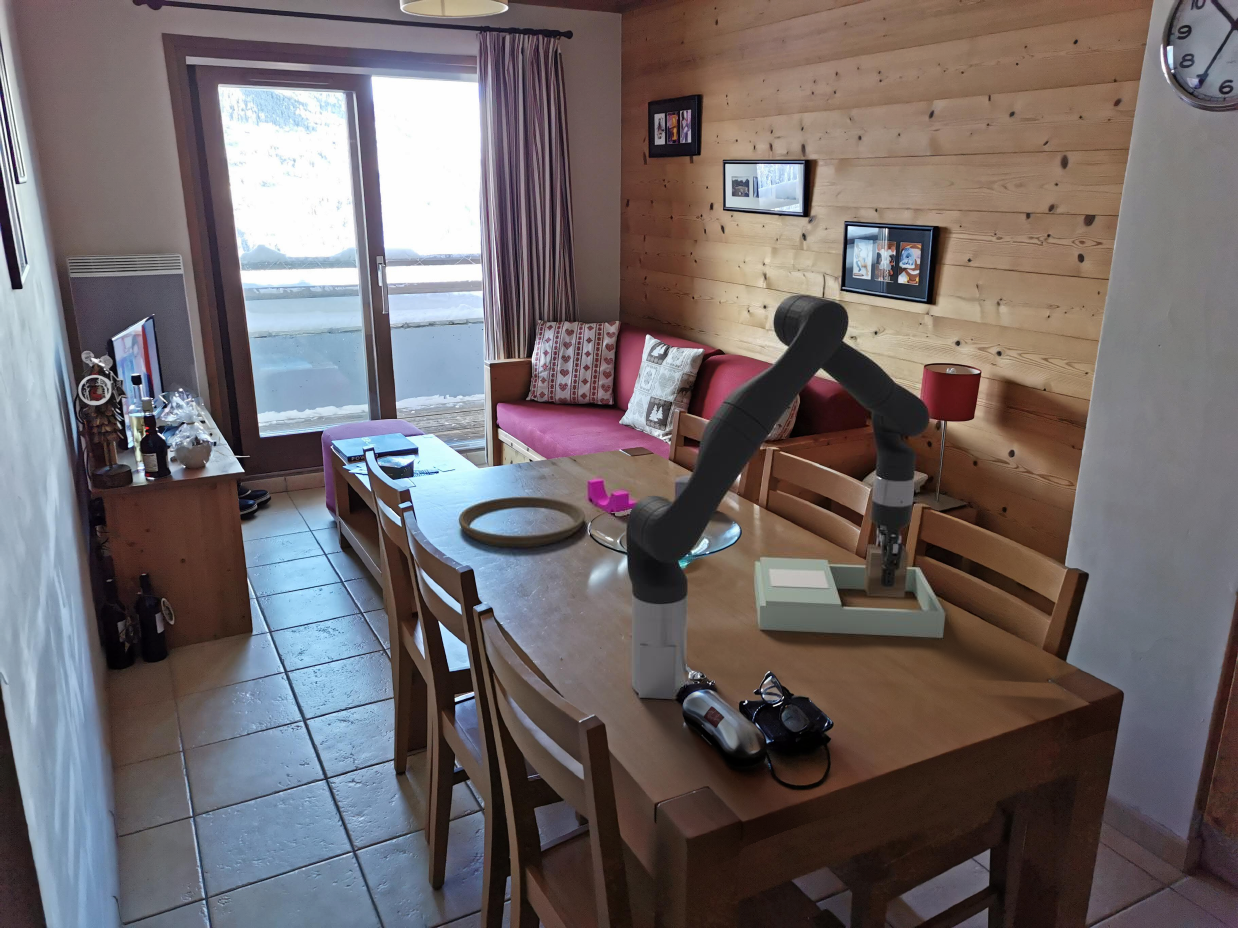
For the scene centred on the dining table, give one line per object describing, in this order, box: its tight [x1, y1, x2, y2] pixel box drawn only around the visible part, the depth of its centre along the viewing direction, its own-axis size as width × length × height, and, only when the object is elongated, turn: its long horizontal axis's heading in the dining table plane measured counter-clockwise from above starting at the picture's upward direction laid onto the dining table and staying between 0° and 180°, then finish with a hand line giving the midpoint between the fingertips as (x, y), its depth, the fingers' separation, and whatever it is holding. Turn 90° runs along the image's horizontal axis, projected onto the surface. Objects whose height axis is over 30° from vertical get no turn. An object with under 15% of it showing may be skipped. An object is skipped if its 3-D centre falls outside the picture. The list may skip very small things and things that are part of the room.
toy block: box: [587, 477, 638, 514], centre depth 235 cm, size 15×6×8 cm, turn 31°
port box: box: [753, 556, 946, 639], centre depth 179 cm, size 22×34×6 cm, turn 84°
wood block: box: [864, 544, 909, 598], centre depth 176 cm, size 4×7×9 cm, turn 84°
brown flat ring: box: [458, 496, 586, 549], centre depth 222 cm, size 31×31×5 cm
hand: (884, 580), depth 177 cm, fingers closed on wood block, 4 cm apart
